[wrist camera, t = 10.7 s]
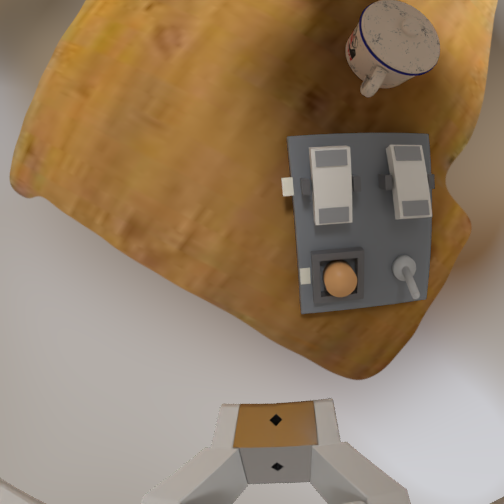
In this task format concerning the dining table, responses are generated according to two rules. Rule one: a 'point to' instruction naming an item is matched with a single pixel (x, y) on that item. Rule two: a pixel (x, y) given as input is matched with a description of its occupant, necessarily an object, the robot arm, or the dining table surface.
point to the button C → (339, 278)
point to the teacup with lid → (391, 45)
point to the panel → (359, 226)
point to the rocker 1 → (331, 184)
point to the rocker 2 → (409, 181)
